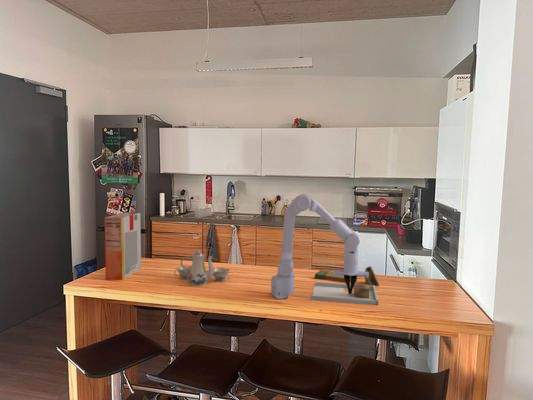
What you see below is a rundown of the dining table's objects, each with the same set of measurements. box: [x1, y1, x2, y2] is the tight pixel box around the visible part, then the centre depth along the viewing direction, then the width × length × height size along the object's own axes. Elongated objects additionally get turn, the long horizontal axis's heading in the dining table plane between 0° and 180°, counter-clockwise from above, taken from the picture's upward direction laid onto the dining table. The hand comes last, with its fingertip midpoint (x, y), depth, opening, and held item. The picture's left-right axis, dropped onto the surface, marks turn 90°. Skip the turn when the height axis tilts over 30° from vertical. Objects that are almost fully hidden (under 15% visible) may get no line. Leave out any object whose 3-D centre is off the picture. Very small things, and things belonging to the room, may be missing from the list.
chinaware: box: [174, 249, 230, 287], centre depth 181 cm, size 28×17×17 cm, turn 86°
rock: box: [364, 265, 380, 287], centre depth 177 cm, size 11×9×10 cm
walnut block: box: [353, 283, 370, 299], centre depth 158 cm, size 6×6×4 cm
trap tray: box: [310, 281, 379, 306], centre depth 159 cm, size 26×20×4 cm
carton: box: [314, 269, 351, 284], centre depth 183 cm, size 8×16×4 cm, turn 61°
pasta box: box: [104, 211, 142, 281], centre depth 192 cm, size 23×8×30 cm, turn 176°
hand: (350, 293), depth 159 cm, fingers closed
